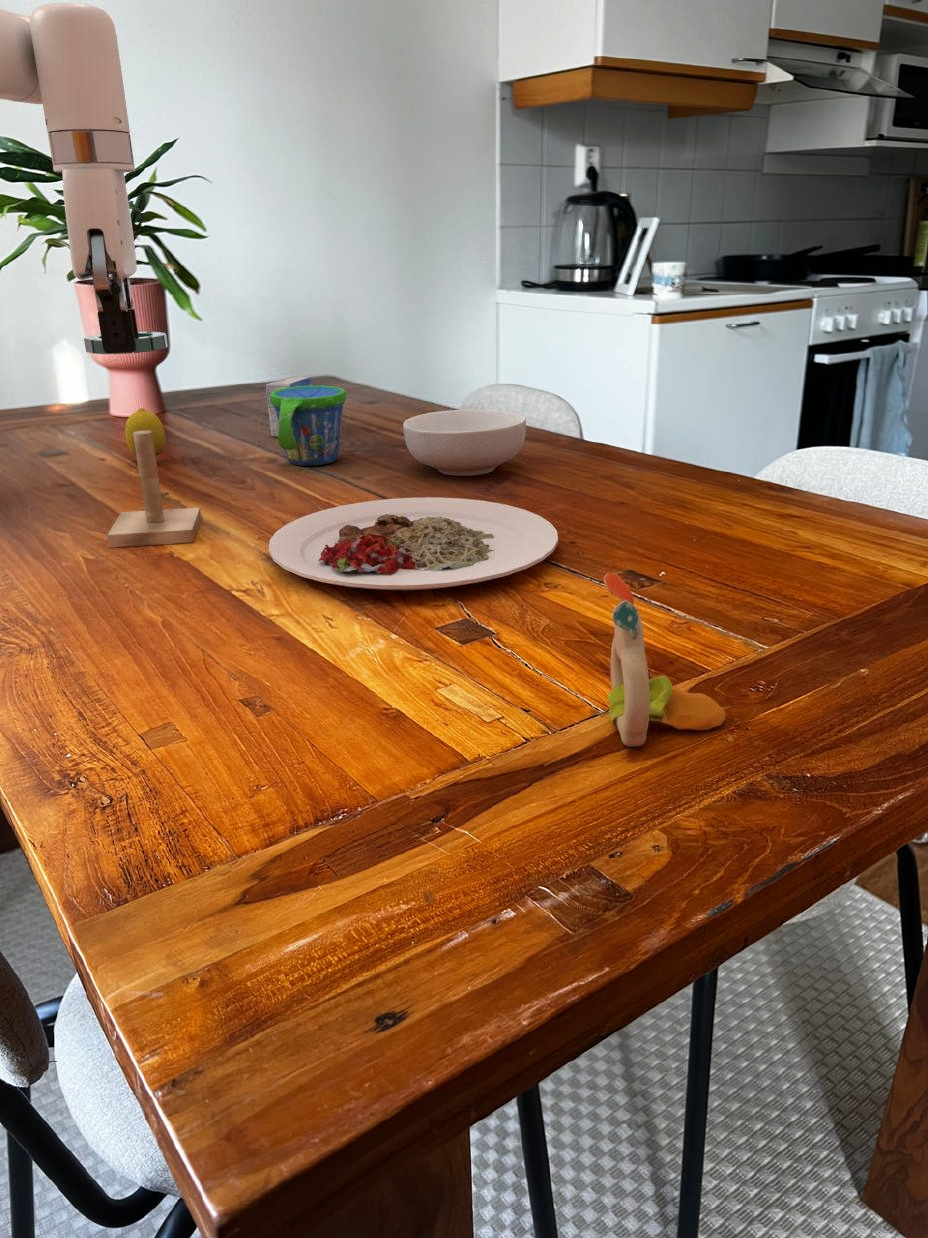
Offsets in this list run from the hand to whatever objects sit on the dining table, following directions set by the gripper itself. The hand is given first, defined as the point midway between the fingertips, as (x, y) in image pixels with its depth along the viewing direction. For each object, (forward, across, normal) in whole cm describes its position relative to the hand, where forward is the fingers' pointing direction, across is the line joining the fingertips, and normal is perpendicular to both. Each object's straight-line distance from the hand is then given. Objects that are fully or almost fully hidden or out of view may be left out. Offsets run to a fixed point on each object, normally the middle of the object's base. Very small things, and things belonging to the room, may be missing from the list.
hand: (122, 349), depth 100 cm
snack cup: (+21, -33, +19) cm, 43 cm away
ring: (0, -3, 0) cm, 3 cm away
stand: (+20, -1, 0) cm, 20 cm away
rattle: (+21, +54, +40) cm, 70 cm away
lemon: (+21, -38, -5) cm, 44 cm away
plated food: (+21, +12, +28) cm, 37 cm away
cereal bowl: (+21, -23, +40) cm, 50 cm away
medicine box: (+21, -55, +16) cm, 61 cm away
